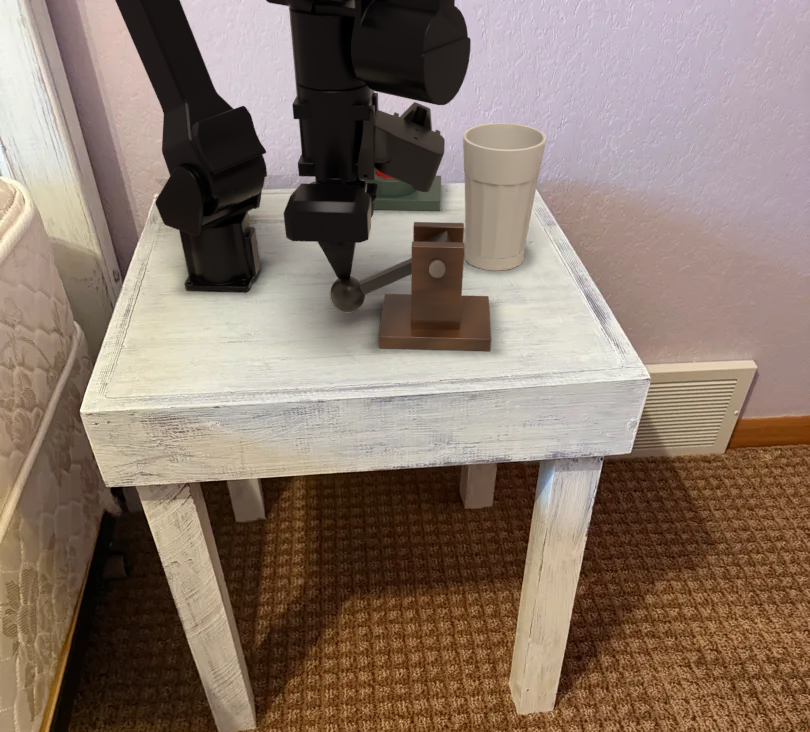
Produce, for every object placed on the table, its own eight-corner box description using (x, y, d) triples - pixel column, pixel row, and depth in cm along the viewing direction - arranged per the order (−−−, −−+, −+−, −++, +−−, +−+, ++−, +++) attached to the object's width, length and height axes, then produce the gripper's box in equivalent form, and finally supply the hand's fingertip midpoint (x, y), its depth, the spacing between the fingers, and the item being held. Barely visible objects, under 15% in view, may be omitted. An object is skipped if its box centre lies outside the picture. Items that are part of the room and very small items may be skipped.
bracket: (379, 348, 69) (376, 253, 62) (385, 304, 74) (383, 213, 68) (490, 351, 68) (498, 256, 62) (487, 307, 74) (495, 216, 68)
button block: (339, 208, 91) (337, 182, 89) (346, 183, 96) (344, 158, 94) (439, 210, 90) (440, 184, 88) (440, 185, 96) (441, 160, 94)
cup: (528, 277, 78) (543, 153, 70) (451, 270, 79) (457, 147, 71) (534, 244, 84) (549, 125, 75) (462, 238, 85) (469, 120, 76)
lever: (338, 324, 70) (321, 294, 68) (342, 307, 72) (325, 277, 70) (459, 272, 66) (444, 239, 64) (459, 256, 68) (445, 223, 66)
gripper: (438, 122, 50) (431, 334, 61) (442, 50, 63) (436, 235, 75) (271, 119, 51) (294, 330, 62) (309, 48, 64) (323, 232, 75)
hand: (344, 277), depth 68 cm, fingers closed, pressing on lever
